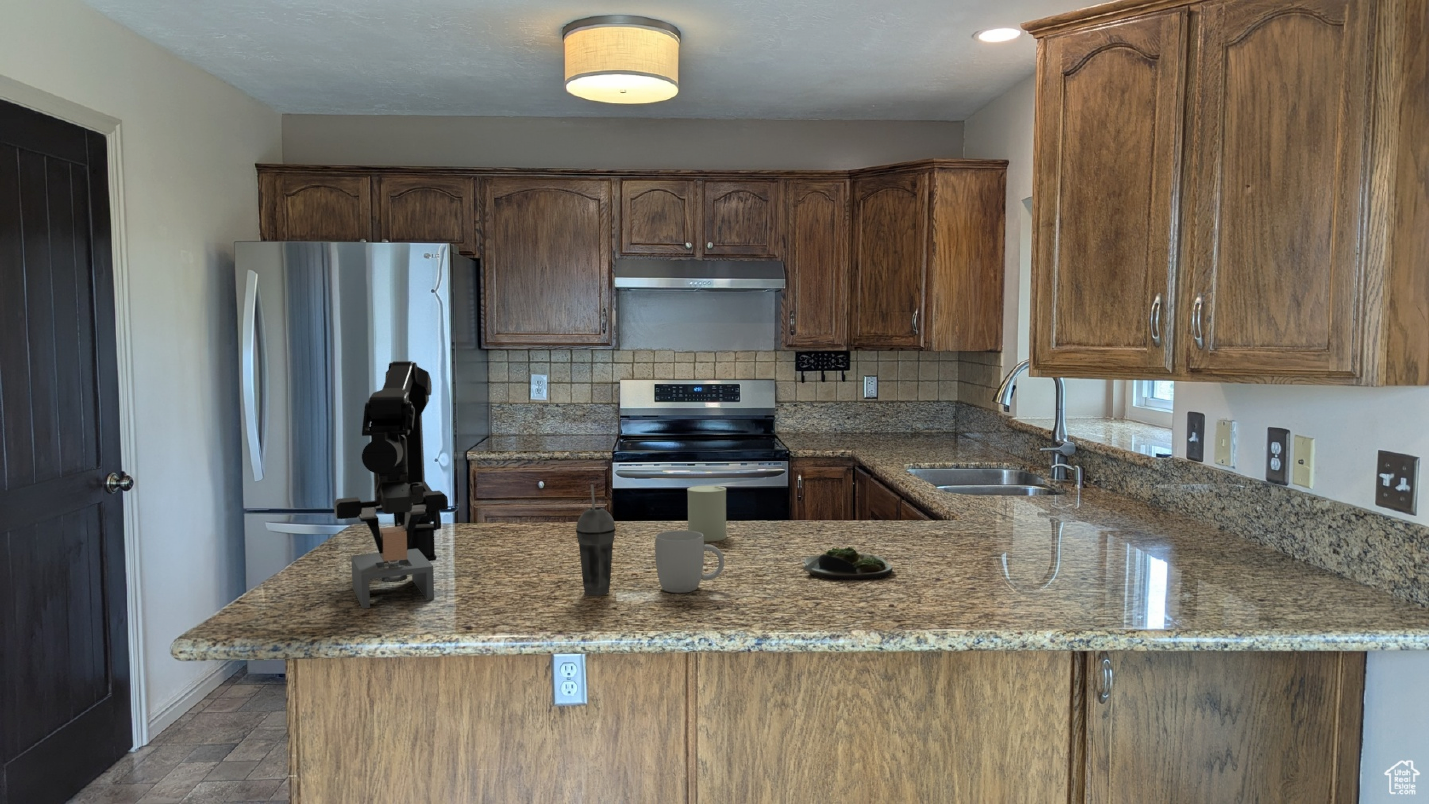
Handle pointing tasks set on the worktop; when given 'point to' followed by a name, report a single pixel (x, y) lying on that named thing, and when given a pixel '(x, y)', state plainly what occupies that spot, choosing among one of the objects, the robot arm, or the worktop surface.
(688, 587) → the mug
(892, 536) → the worktop surface
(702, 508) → the can
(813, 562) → the salad plate
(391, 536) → the brown and silver block
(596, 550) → the beverage cup
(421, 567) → the keyhole plate
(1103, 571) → the worktop surface
